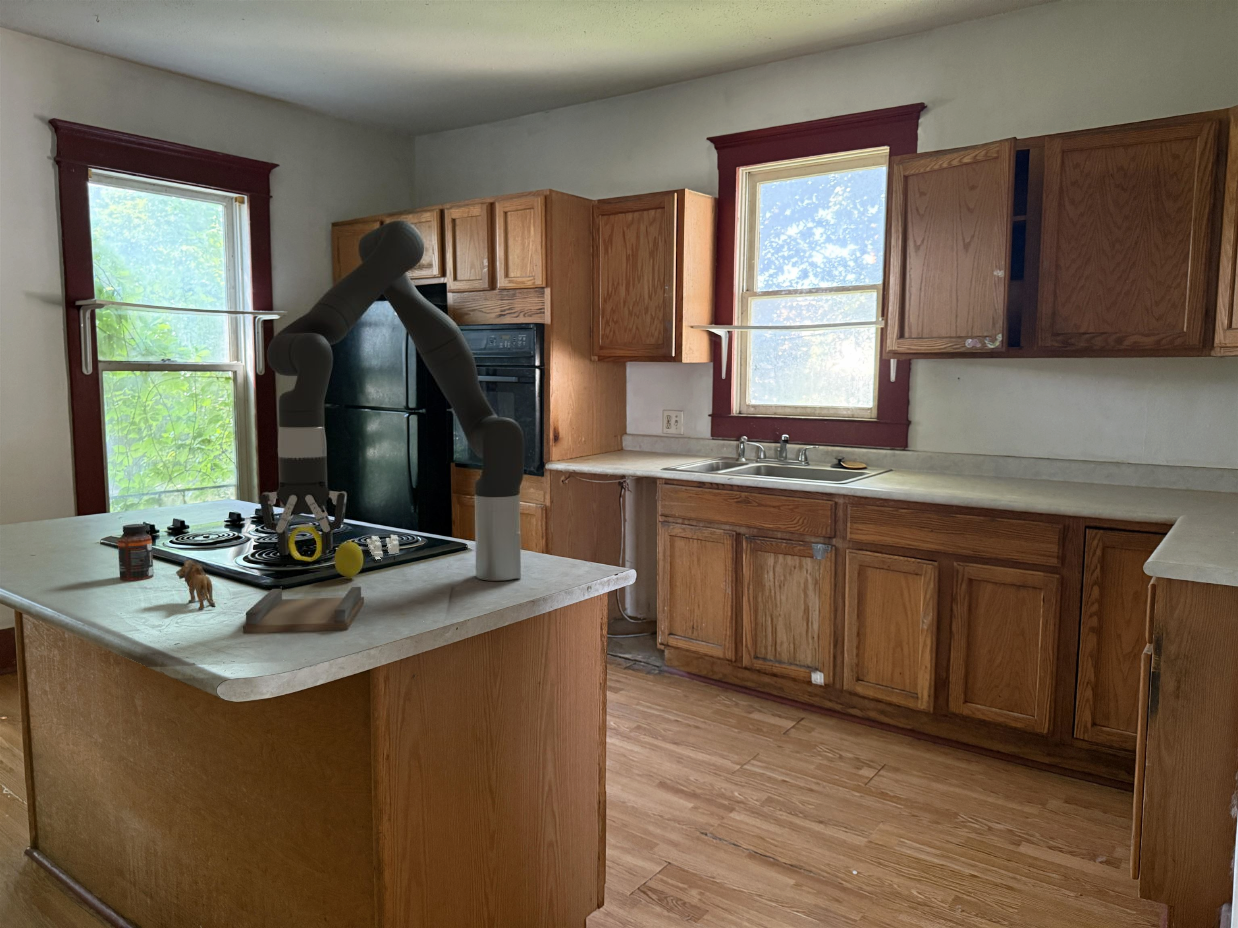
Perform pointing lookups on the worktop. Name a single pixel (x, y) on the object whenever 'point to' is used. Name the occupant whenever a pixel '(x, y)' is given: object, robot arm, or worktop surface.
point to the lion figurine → (197, 583)
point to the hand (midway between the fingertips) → (305, 553)
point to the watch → (316, 535)
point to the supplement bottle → (135, 553)
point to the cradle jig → (303, 613)
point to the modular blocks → (377, 548)
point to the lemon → (348, 559)
